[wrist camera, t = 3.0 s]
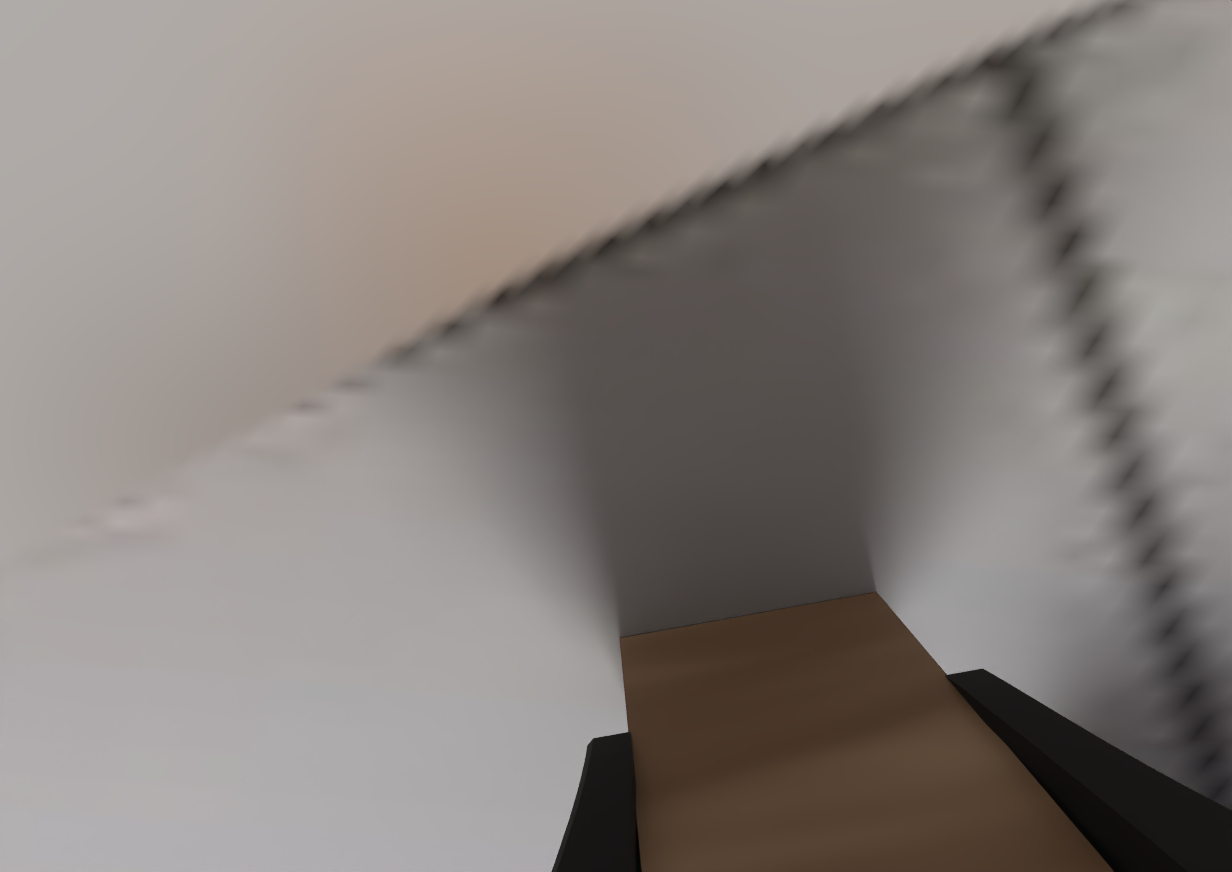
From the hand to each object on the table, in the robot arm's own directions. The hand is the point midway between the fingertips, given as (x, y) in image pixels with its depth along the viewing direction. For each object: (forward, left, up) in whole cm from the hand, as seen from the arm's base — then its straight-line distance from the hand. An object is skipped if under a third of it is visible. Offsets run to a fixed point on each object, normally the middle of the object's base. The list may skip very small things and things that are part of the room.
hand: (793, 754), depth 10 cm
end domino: (0, 0, -2) cm, 2 cm away
